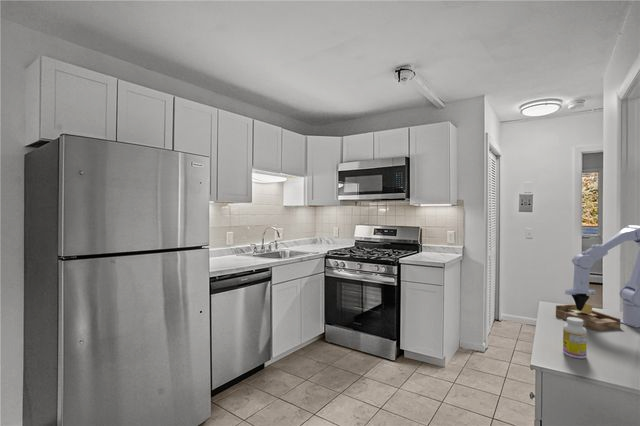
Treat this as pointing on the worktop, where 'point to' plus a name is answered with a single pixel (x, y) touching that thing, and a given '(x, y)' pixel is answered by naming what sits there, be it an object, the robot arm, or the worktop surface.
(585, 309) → the ochre block
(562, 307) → the box
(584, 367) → the worktop surface
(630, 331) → the worktop surface
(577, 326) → the supplement bottle
